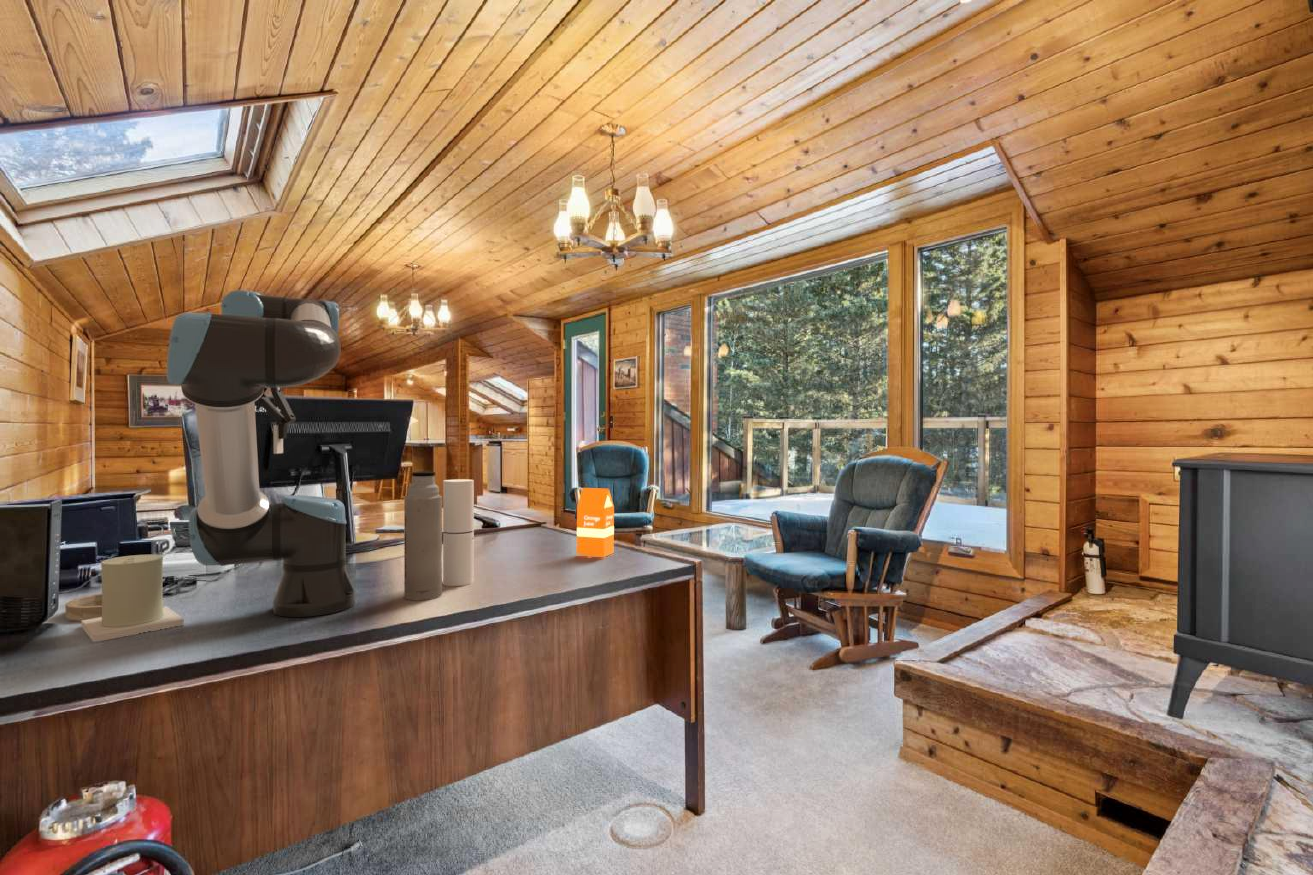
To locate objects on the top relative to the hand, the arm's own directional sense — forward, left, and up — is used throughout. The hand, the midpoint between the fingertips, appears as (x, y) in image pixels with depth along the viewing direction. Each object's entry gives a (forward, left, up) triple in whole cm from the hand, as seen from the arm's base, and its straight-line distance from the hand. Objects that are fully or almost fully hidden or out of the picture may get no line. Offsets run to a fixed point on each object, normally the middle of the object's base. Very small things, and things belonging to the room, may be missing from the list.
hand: (247, 453), depth 146 cm
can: (-13, +23, -31) cm, 41 cm away
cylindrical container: (-28, -37, -32) cm, 56 cm away
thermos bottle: (-33, -25, -32) cm, 52 cm away
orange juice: (-28, -83, -32) cm, 93 cm away
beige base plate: (-13, +23, -32) cm, 41 cm away
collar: (+3, +24, -32) cm, 40 cm away
